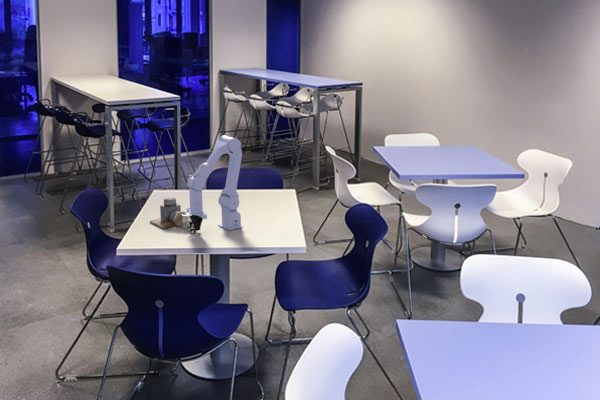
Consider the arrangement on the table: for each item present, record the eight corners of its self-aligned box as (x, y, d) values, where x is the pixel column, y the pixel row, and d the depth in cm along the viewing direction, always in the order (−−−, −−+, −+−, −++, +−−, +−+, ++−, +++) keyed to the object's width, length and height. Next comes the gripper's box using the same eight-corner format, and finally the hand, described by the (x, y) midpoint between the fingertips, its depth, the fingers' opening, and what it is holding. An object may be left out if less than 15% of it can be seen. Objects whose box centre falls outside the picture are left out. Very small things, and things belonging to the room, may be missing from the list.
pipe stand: (198, 223, 310) (197, 200, 307) (165, 230, 299) (164, 207, 296) (181, 215, 322) (180, 194, 319) (149, 222, 311) (148, 200, 308)
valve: (177, 227, 304) (188, 234, 294) (177, 214, 302) (188, 220, 292) (190, 225, 307) (201, 231, 298) (189, 212, 306) (200, 218, 296)
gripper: (180, 200, 293) (181, 228, 297) (197, 207, 283) (198, 235, 286) (193, 197, 298) (194, 225, 301) (210, 204, 287) (211, 232, 291)
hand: (197, 230), depth 294 cm, fingers closed
